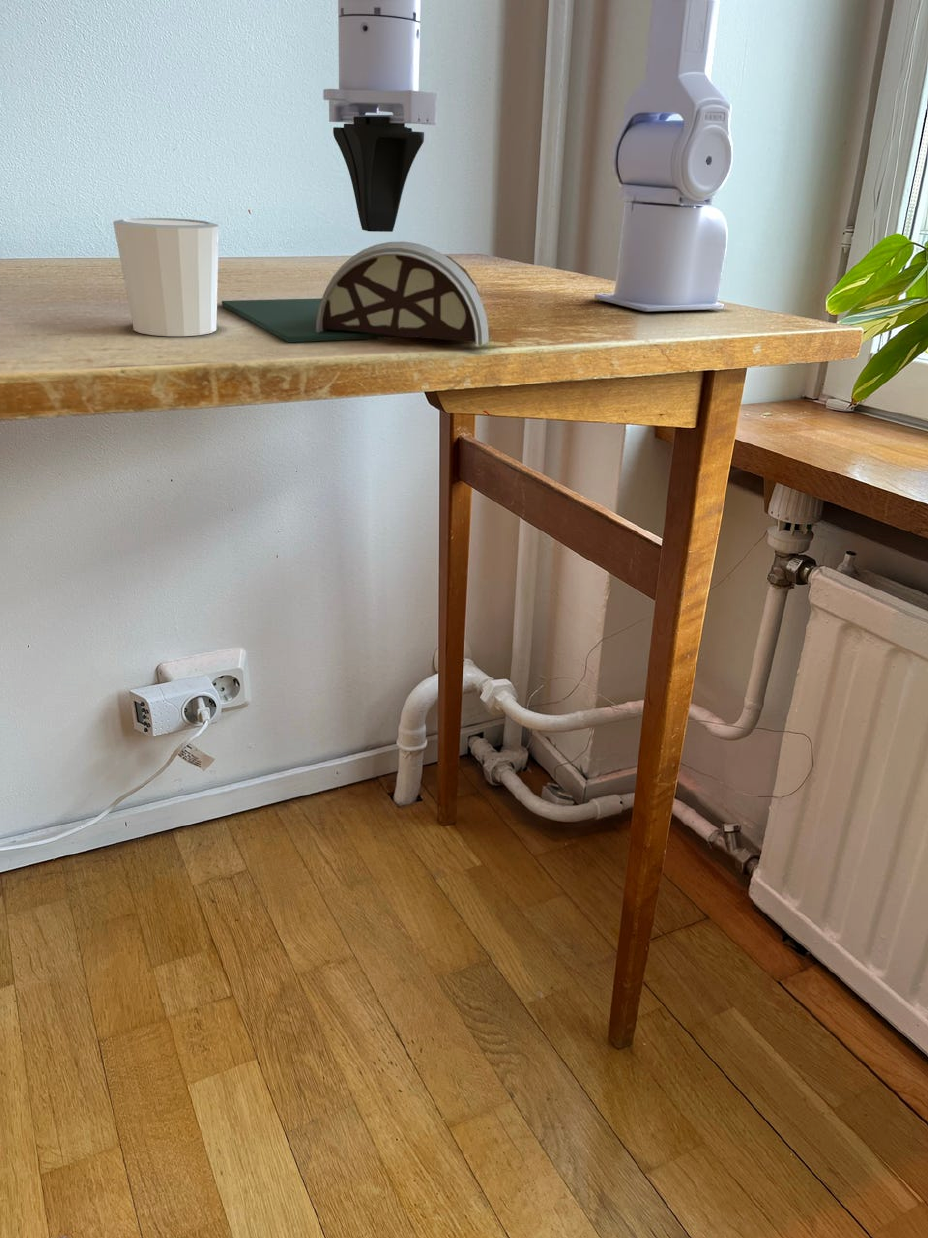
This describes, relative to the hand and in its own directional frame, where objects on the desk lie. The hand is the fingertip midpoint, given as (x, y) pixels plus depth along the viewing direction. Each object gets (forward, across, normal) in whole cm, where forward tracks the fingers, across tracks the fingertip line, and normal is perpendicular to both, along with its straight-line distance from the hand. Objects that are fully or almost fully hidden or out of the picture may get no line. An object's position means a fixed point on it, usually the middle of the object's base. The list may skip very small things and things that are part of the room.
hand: (377, 230), depth 72 cm
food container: (+3, +3, +3) cm, 5 cm away
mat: (+6, 0, -4) cm, 8 cm away
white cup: (+7, +2, -16) cm, 17 cm away
